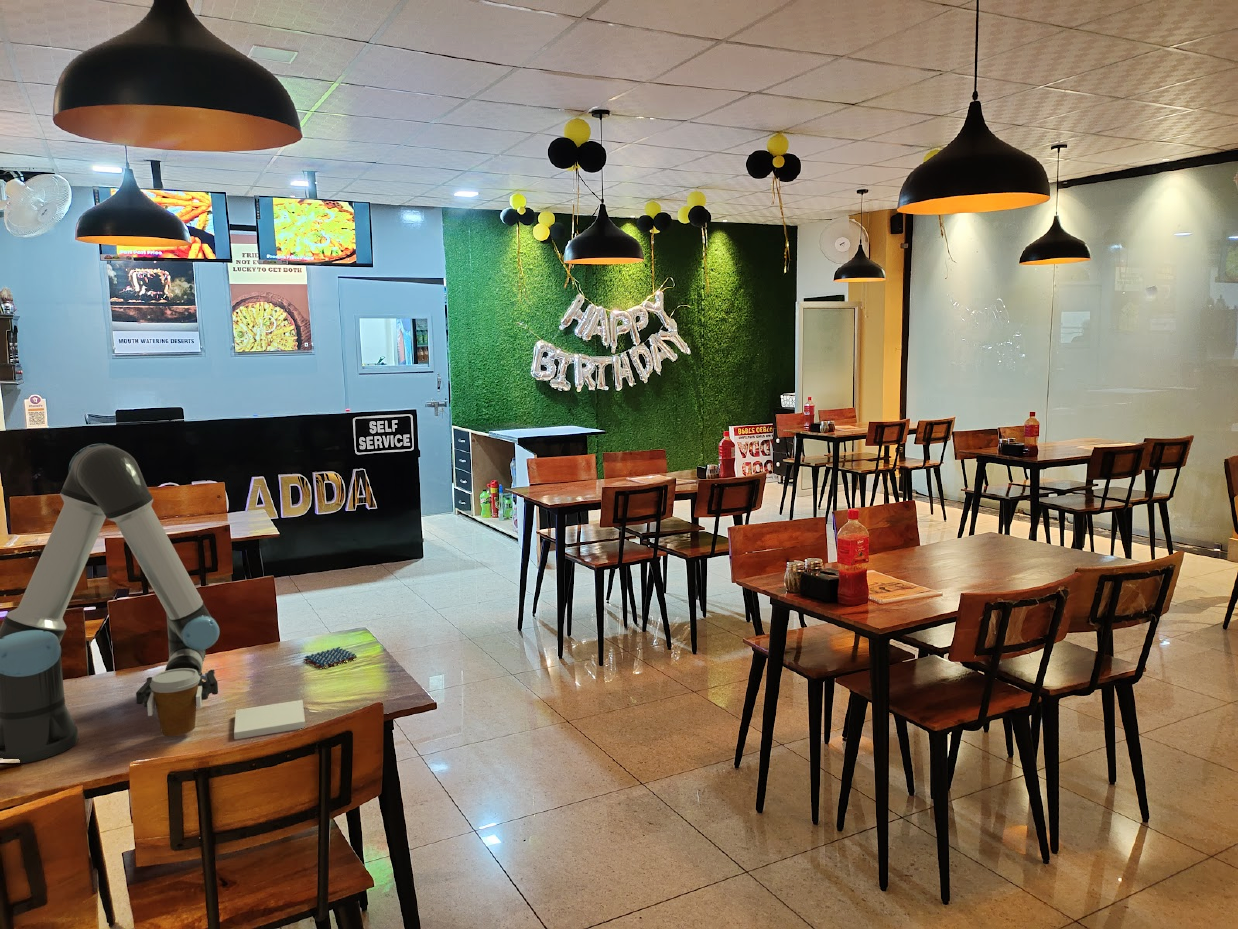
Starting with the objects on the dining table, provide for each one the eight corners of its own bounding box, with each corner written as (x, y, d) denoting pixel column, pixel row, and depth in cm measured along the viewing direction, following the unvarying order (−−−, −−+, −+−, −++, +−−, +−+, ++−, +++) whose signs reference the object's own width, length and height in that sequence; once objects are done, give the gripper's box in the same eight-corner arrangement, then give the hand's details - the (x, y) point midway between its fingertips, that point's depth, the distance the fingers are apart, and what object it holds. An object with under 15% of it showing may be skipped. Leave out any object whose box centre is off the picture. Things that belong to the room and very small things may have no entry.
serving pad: (234, 739, 181) (234, 732, 181) (236, 716, 193) (235, 710, 193) (305, 728, 186) (305, 721, 186) (302, 706, 198) (302, 699, 198)
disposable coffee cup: (182, 741, 177) (179, 685, 176) (142, 737, 179) (138, 681, 178) (213, 722, 186) (210, 669, 185) (174, 719, 188) (171, 666, 187)
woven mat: (301, 663, 228) (301, 656, 228) (339, 653, 236) (338, 646, 236) (321, 672, 221) (320, 665, 221) (358, 661, 229) (358, 654, 228)
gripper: (234, 679, 203) (231, 715, 182) (132, 693, 195) (117, 732, 174) (232, 649, 202) (229, 681, 181) (130, 660, 194) (114, 696, 173)
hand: (174, 706), depth 178 cm, fingers closed on disposable coffee cup, 8 cm apart
